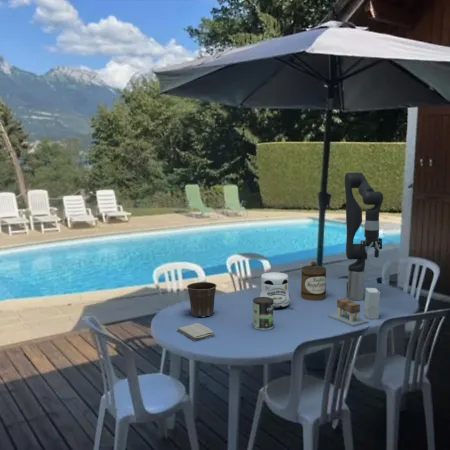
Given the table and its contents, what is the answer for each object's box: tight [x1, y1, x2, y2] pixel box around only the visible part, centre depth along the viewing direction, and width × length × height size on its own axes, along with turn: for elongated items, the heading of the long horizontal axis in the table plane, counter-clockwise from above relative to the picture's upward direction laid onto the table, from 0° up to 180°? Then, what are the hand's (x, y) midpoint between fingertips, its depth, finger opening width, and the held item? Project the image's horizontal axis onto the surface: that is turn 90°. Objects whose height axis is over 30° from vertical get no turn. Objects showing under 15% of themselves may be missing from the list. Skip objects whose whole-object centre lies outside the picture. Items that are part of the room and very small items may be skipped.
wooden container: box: [300, 261, 327, 301], centre depth 297 cm, size 15×15×22 cm
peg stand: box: [327, 307, 369, 327], centre depth 258 cm, size 18×11×6 cm, turn 31°
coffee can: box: [252, 296, 274, 331], centre depth 249 cm, size 10×10×14 cm
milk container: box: [259, 271, 291, 309], centre depth 282 cm, size 17×17×18 cm
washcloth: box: [177, 322, 215, 342], centre depth 241 cm, size 12×18×3 cm, turn 36°
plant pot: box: [186, 281, 218, 317], centre depth 269 cm, size 16×16×16 cm
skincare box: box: [363, 287, 381, 320], centre depth 261 cm, size 8×6×15 cm
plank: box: [336, 298, 361, 314], centre depth 257 cm, size 12×5×4 cm, turn 25°
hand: (370, 258), depth 266 cm, fingers open, 8 cm apart
